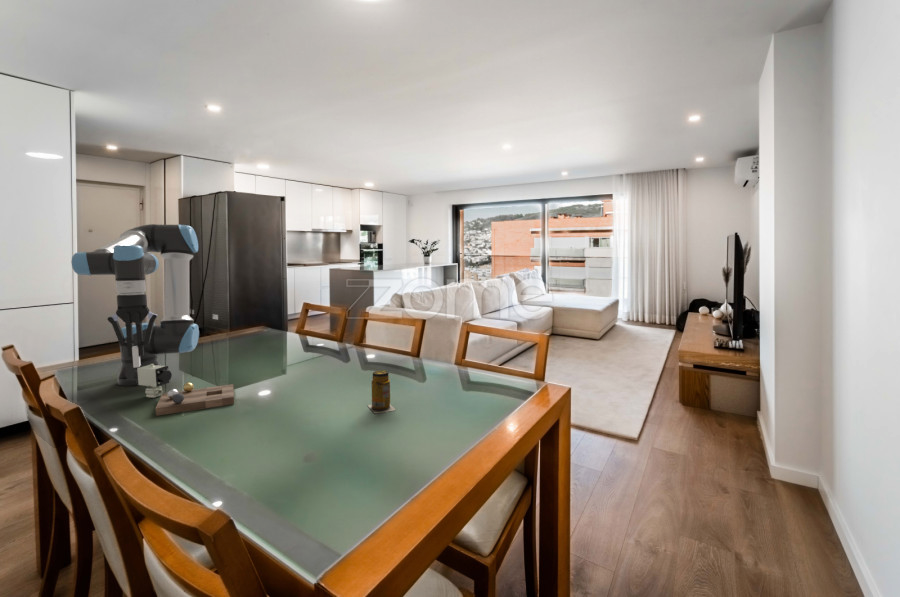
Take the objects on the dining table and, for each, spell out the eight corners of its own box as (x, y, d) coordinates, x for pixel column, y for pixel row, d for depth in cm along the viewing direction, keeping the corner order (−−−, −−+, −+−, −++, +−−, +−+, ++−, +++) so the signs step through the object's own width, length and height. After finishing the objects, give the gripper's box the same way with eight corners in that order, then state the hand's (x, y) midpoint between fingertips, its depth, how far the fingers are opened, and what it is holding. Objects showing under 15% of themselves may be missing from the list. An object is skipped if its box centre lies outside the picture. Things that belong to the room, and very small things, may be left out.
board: (162, 400, 144) (162, 393, 144) (233, 390, 155) (233, 384, 154) (155, 415, 130) (155, 408, 130) (234, 403, 141) (233, 396, 140)
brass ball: (183, 391, 147) (183, 382, 146) (194, 389, 148) (193, 381, 148) (183, 393, 144) (182, 384, 143) (193, 392, 145) (193, 383, 145)
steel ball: (168, 397, 139) (167, 388, 139) (179, 396, 141) (178, 387, 141) (167, 400, 137) (166, 391, 136) (178, 399, 138) (177, 389, 138)
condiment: (388, 402, 142) (387, 368, 141) (396, 410, 134) (395, 374, 133) (367, 405, 139) (366, 371, 137) (374, 414, 131) (373, 377, 130)
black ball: (173, 402, 135) (172, 392, 135) (184, 400, 137) (184, 391, 136) (172, 405, 132) (171, 395, 132) (183, 403, 134) (183, 394, 133)
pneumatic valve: (162, 399, 145) (159, 366, 144) (134, 397, 147) (132, 364, 146) (175, 394, 150) (173, 362, 149) (149, 392, 153) (146, 361, 151)
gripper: (102, 295, 124) (108, 371, 127) (154, 293, 131) (159, 366, 133) (108, 293, 131) (114, 366, 133) (158, 292, 137) (163, 361, 139)
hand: (137, 366), depth 133 cm, fingers closed
